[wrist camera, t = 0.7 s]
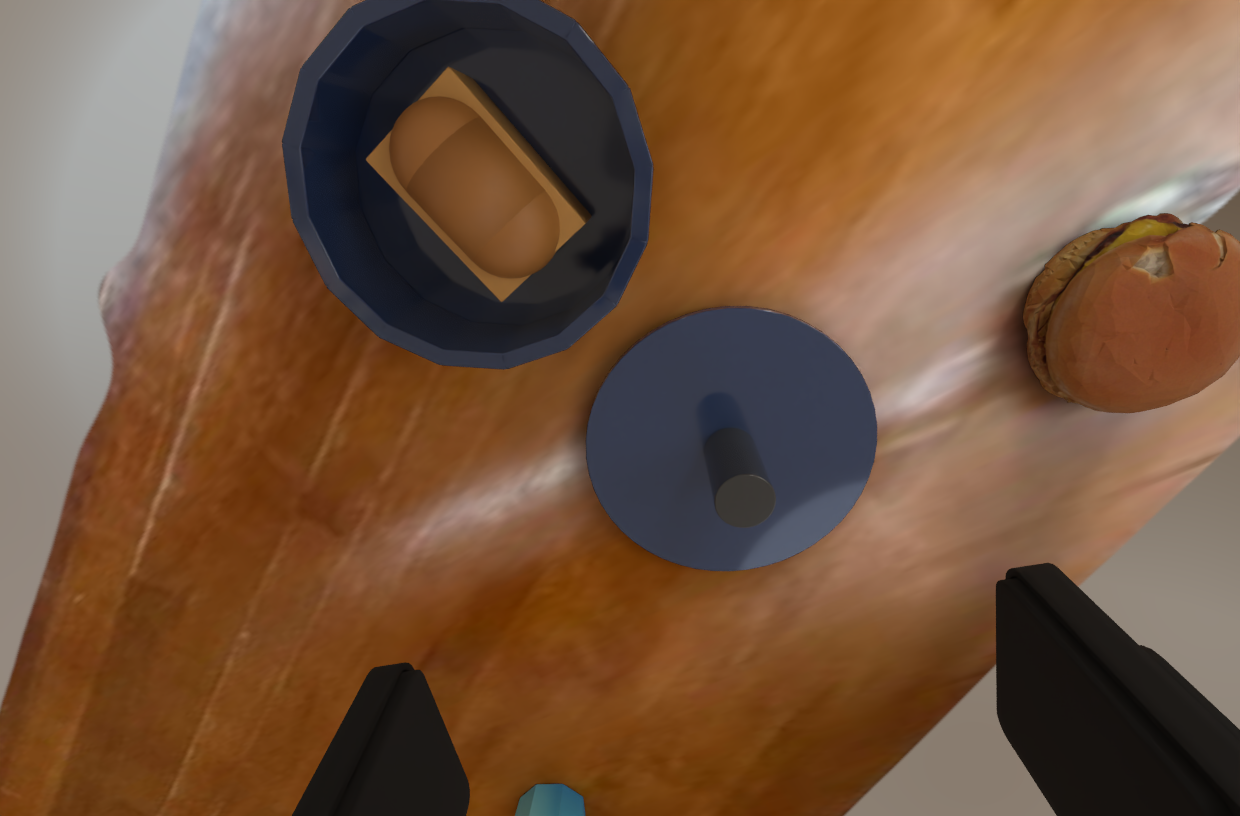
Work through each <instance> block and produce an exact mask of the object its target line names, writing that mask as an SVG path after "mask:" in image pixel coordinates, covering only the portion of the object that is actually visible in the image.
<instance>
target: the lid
mask: <svg viewBox="0 0 1240 816" xmlns="http://www.w3.org/2000/svg"><path fill="white" fill-rule="evenodd" d="M876 445H877V421H876V414H875V408H874V404H873V401H872V397H871V394H870V391H869V389H868V387H867V385H866V382H865V380H864V378H863V376H862V374H861V373H860V371H859V370H858V368H857V367H856V365H855V364H854V362H853V361H852V359H851V358H850V357H849V356H848V355H847V354H846V353H845V352H844V351H843V350H842V349H841V347H840V346H839V345H838V344H837V343H835V342H834V341H833V340H832V339H830V338H829V337H828V336H827V335H825V334H824V333H823V332H822V331H820V330H818V329H817V328H815V327H813V326H812V325H810V324H808V323H807V322H805V321H803V320H800V319H798V318H795V317H793V316H791V315H788V314H785V313H782V312H778V311H774V310H771V309H766V308H758V307H751V306H724V307H716V308H708V309H704V310H700V311H696V312H692V313H688V314H685V315H683V316H680V317H678V318H675V319H673V320H670V321H668V322H666V323H664V324H663V325H661V326H659V327H657V328H655V329H654V330H652V331H650V332H649V333H647V334H646V335H645V336H643V337H642V338H641V339H639V340H638V341H637V342H635V343H634V344H633V345H632V346H631V347H630V348H629V349H628V350H627V351H626V352H625V353H624V354H623V355H622V356H621V357H620V358H619V359H618V361H617V362H616V363H615V364H614V366H613V367H612V368H611V369H610V371H609V372H608V374H607V376H606V377H605V379H604V381H603V382H602V384H601V386H600V387H599V390H598V392H597V395H596V397H595V399H594V402H593V405H592V408H591V412H590V416H589V420H588V425H587V434H586V460H587V465H588V471H589V476H590V479H591V482H592V485H593V488H594V491H595V493H596V495H597V497H598V499H599V501H600V503H601V505H602V506H603V508H604V509H605V511H606V512H607V514H608V515H609V517H610V518H611V520H612V521H613V522H614V523H615V524H616V525H617V526H618V527H619V528H620V530H621V531H622V532H623V533H625V534H626V535H627V536H628V537H629V538H630V539H632V540H633V541H634V542H635V543H637V544H638V545H640V546H641V547H643V548H644V549H646V550H647V551H649V552H651V553H653V554H655V555H657V556H659V557H661V558H663V559H665V560H668V561H671V562H673V563H676V564H679V565H683V566H687V567H691V568H695V569H702V570H710V571H738V570H748V569H753V568H758V567H763V566H767V565H770V564H773V563H776V562H779V561H783V560H785V559H787V558H789V557H792V556H794V555H796V554H798V553H800V552H802V551H804V550H805V549H807V548H809V547H810V546H812V545H814V544H815V543H816V542H818V541H819V540H820V539H822V538H823V537H824V536H826V535H827V534H828V533H829V532H831V531H832V530H833V529H834V528H835V527H836V526H837V525H838V524H839V523H840V522H841V521H842V520H843V519H844V517H845V516H846V515H847V514H848V512H849V511H850V510H851V509H852V508H853V506H854V504H855V503H856V501H857V500H858V498H859V496H860V495H861V493H862V491H863V489H864V487H865V485H866V483H867V480H868V478H869V476H870V472H871V469H872V466H873V462H874V458H875V452H876Z"/></svg>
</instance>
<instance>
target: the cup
mask: <svg viewBox="0 0 1240 816" xmlns="http://www.w3.org/2000/svg"><path fill="white" fill-rule="evenodd" d="M515 816H585V808H584V801H583V796H581V795H579V794H578V793H576V792H575V791H573V790H572V789H570V788H568V787H567V786H565V785H564V784H536V785H535V786H534V787H532V788H531V789H530V790H529V791H528V792H526V793H525V794H524V795H523V796H522V797H520V800H519V803H518V807H517V810H516V814H515Z"/></svg>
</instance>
